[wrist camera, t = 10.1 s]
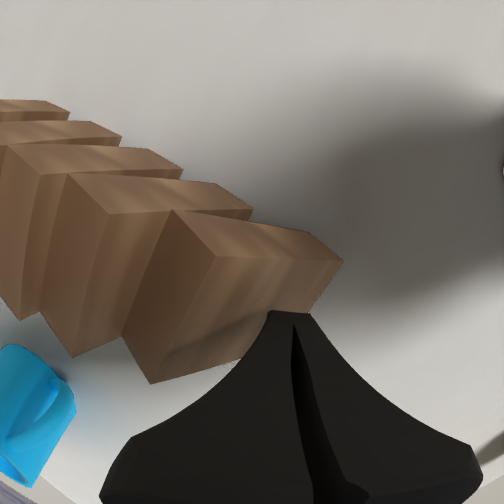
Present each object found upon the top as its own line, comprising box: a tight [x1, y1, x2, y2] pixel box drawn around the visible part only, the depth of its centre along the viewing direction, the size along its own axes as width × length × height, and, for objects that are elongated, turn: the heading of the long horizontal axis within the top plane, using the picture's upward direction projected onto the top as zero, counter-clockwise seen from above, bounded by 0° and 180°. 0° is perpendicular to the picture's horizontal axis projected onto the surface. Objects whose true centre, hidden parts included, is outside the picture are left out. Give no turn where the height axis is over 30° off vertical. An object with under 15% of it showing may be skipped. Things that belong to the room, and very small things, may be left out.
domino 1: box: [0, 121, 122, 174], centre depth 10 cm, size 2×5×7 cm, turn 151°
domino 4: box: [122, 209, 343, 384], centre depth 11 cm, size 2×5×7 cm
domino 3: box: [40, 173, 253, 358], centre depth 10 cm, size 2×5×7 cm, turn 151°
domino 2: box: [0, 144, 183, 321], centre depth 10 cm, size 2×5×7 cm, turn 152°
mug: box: [0, 344, 76, 488], centre depth 15 cm, size 12×8×8 cm
